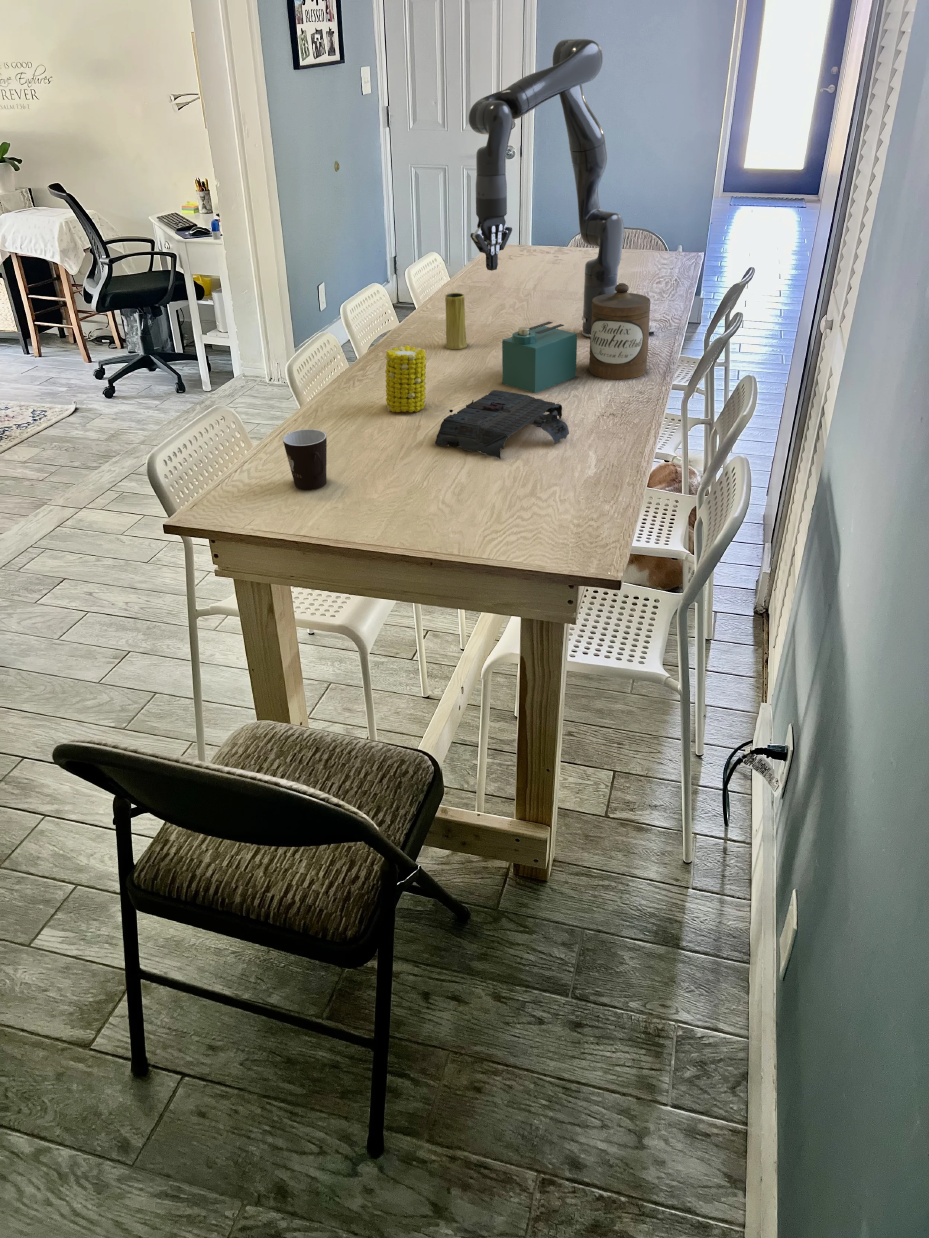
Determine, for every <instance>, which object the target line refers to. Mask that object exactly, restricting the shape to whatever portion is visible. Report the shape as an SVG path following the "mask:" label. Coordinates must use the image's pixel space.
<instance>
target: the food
mask: <svg viewBox="0 0 929 1238" xmlns="http://www.w3.org/2000/svg"><path fill="white" fill-rule="evenodd" d="M385 356H386V357H385V359H386V363H385V378H386V379H385V388H386V389H385V395H386V397H385V401H386V407H387V411H388V412H392V413H395V412H396V413H400V412H408V413H413V412H414V413H418V412H421V411H422V410H423V409H425V407H426V404H425V402H426V394H427V393H426V386H425V385H427V382H426V377H427V376H426V373H427V371H426V367H427V364H426V360H427V357H426V351H425V349H423V348H421V347H415V346H409V345H408V344H407V345H404V346H403V345H400V346H398V347H392V348H391V349H388V350H387V351H386V355H385Z"/></svg>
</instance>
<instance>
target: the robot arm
mask: <svg viewBox="0 0 929 1238" xmlns="http://www.w3.org/2000/svg"><path fill="white" fill-rule="evenodd" d="M603 59H604V57H603V51H602V48H601V46H600V44H598V42H596V41H595V40H593V39H589V38H568V39H565V38H564V39H561V40H560V41H559V42H557V43H556V45H555V47H554V49H553V52H552V59H551V61H552V63H551V64H552V66H549V67H547V68H544V69H542V70H538V71H536V72H532V73H530V74H528V75H525V76H524V77H521V78H520V79H518V80H516V81H515V82H513V83H512V84H510V85H508V86H507V87H506V88H504V89H502V90H499V91H496V92H494V93H491V94H489V95H486V96H483V97H481V98H480V99H478V100H476V101H475V103H473V104H472V105H471V107H470V110H469V111H468V125H469V126H470V128H471V130H473V131H474V132H475V133H477V134H479V135H487V140H486V145H484V146H483V145H482V146H480V147H479V148H477V151H476V153H475V166H476V167H475V169H476V172H475V173H476V175H475V215H476V217H477V218H478V221H477V225H476V228H477V229H476V230H475V232H471V233H470V238H471V240H472V242H473V243H474V245H475V247H476V249H477V250H478V252H479V253H481V254H484V255H485V268H486V270H487V271H491V272H492V271H493V272H494V271H496V270H498V265H499V254H500V252H501V251H504V250H505V248H506V245H507V243H508V241H509V239H510V236H511V234H512V232H513V228H512V226H508V225H507V222H506V217H505V216H507V214H508V183H507V175H506V173H507V171H506V170H507V169H506V168H507V165H506V163H507V161H506V160H507V159H506V157H507V151H508V147H509V142H510V139H511V134H512V130H513V122H514V121H513V120H518V119H520V118H522V117H524V116H525V115H527V114H528V113H530V112H531V111H533V110H534V109H536V108H537V107H539V106H541V105H543V104H544V103H546V102H547V101H548V100H549V101H550V100H551V99H552V98H554V97H556V96H558V95H559V99H560V103H561V108H562V112H563V118H564V122H565V127H566V133H567V140H568V147H569V148H568V149H569V155H570V160H571V164H572V170H573V176H574V184H575V190H576V199H577V211H578V214H577V215H578V226H579V227H578V228H579V234H580V237H581V240H582V241H583V243H584V244H586V245H587V246H590V247H596V248H598V252H597V253H598V254H597V257H596V258H593V259H589V260H588V261H586V262H585V264H584V278H583V279H584V281H583V283H584V284H583V307H582V311H583V312H582V316H581V321H582V327H581V328H582V330H581V335H582V336H583V337H585V338H590V337H591V323H592V300H593V298H595V297H597V296H600V295H603V294H609V293H616V292H617V291H615V287H616V285H618V274H619V273H618V272H619V266H620V263H621V260H622V252H623V243H624V235H625V234H624V231H625V229H624V228H625V225H624V219H623V217H622V216H621V215H620V214H619V213H617V212H613V211H607V210H602V209H601V205H600V201H599V200H600V199H599V188H600V187H599V186H600V183H601V181H602V179H603V176H604V173H605V170H606V167H607V164H608V163H607V162H608V153H607V152H608V151H607V145H606V138H605V133H604V130H603V127H602V126H601V124H600V123H599V120H598V119H597V117H596V115H595V114H594V112H593V111H592V110H591V108H590V106H589V104H588V102H587V101H586V97H585V94H584V91H583V86H582V85H584V84H586V83H589V82H591V81H593V80H594V79H596V77H598V75H599V73H600V72H601V69H602V66H603ZM649 336H655V331H654V330H653V331H649Z"/></svg>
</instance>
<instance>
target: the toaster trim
mask: <svg viewBox="0 0 929 1238" xmlns="http://www.w3.org/2000/svg"><path fill="white" fill-rule="evenodd" d="M553 323H554V322H553V321H546V322H543V323H540V324H536V325H534V326H531V327H528V328H529V331H531V330H533V329H536V328H539V327H542V326H548V325H551V324H553ZM564 326H565V324H562V323H559V324H556V325H553V326H549V327H550V328H547V329H544V330H541V331H538V332H535V333H538V334H541V333H544V332H547V331H550V330H553V329H559V328H561V327H564Z"/></svg>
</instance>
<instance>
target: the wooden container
mask: <svg viewBox="0 0 929 1238" xmlns="http://www.w3.org/2000/svg"><path fill="white" fill-rule="evenodd" d="M629 287H630V285H628V284H626V283H624V282H619V283H617V285H616V287H615V291H617V292H616V293H609V294H603V295H600V296H597V297H595V298H593V300H592V323H591V337H590V340H589V361H588V369H589V370H588V371H589V373H590V374H591V375H593V376H595V377H598V378H602V379H605V380H607V379H608V380H630V379H635V378H639V377H641V376H644V374H646V373H647V367H648V365H647V364H648V356H649V355H648V353H649V341H650V340H649V339H650V338H649V337H650V335H649V332H650V319H651V318H650V316H651V315H650V312H651V298H649V297H648V296H646V295H644V294H639V293H634V292H629V289H630V288H629Z"/></svg>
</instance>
